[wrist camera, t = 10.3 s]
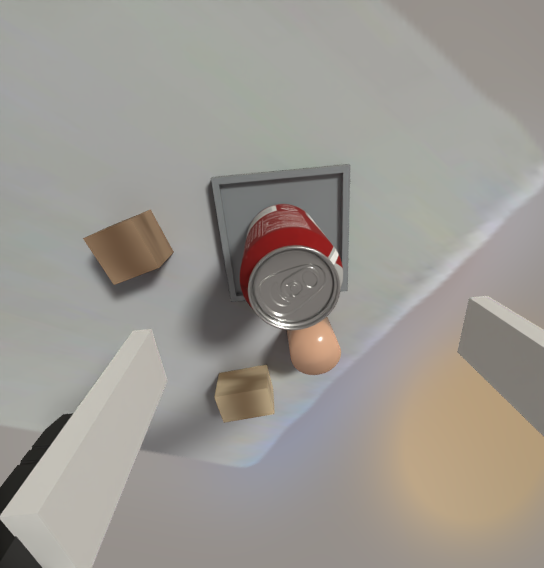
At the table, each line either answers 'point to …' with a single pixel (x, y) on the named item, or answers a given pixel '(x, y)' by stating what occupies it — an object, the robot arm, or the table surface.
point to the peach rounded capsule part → (314, 348)
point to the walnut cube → (130, 247)
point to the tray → (281, 190)
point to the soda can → (289, 269)
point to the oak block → (244, 393)
